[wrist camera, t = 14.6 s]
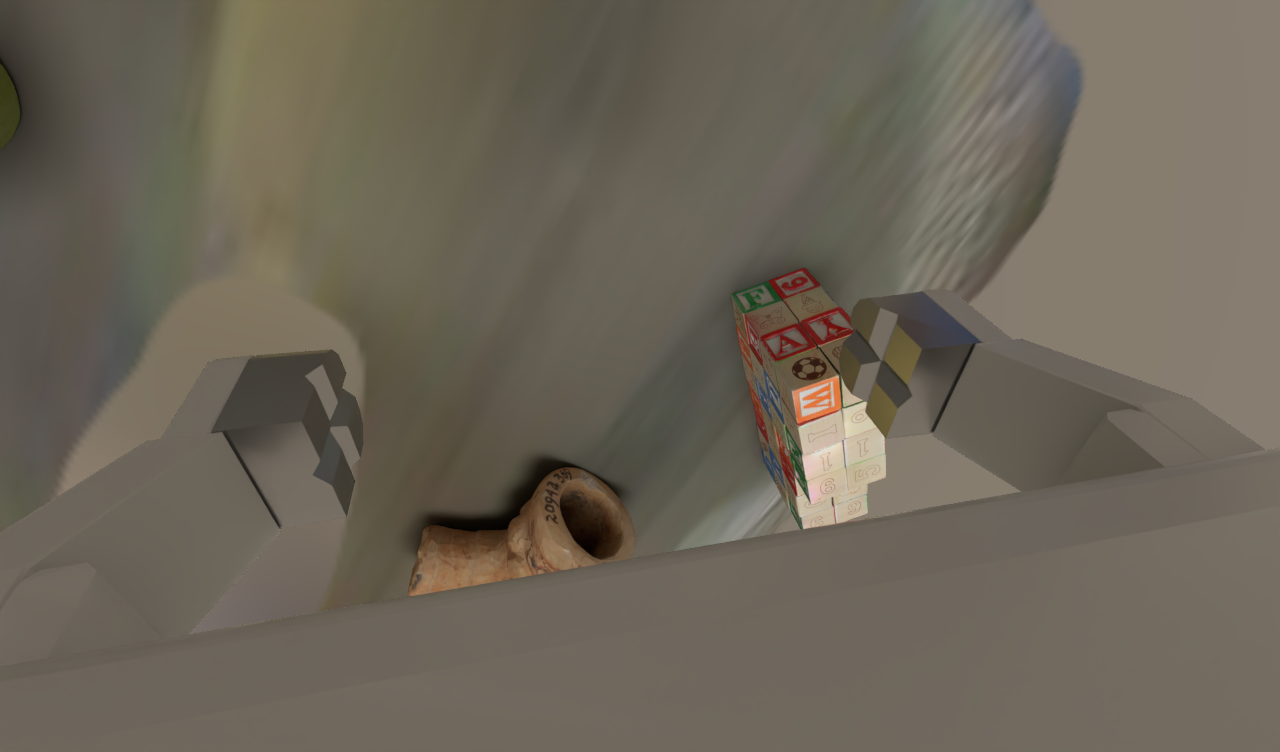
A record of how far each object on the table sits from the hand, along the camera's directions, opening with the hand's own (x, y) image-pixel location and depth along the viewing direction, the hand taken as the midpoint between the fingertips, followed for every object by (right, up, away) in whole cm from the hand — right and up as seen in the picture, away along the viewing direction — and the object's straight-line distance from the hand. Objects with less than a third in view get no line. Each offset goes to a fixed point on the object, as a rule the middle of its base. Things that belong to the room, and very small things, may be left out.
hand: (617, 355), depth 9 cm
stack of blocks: (+13, 0, +43) cm, 44 cm away
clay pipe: (-11, -13, +46) cm, 49 cm away
